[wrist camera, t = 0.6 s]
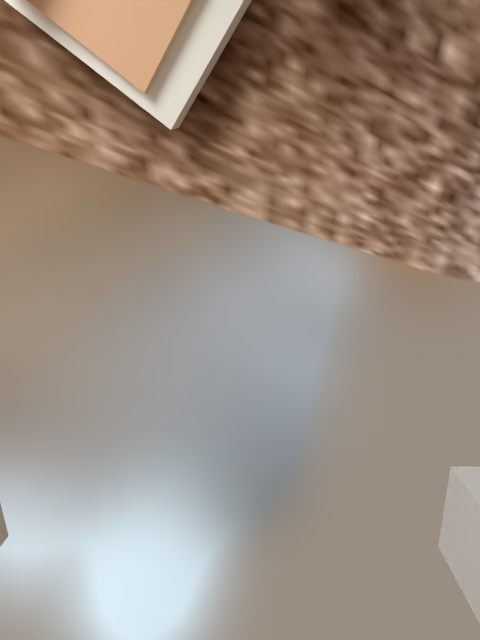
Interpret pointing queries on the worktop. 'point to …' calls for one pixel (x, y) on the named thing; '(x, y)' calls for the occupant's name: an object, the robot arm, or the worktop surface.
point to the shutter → (122, 31)
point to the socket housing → (180, 63)
